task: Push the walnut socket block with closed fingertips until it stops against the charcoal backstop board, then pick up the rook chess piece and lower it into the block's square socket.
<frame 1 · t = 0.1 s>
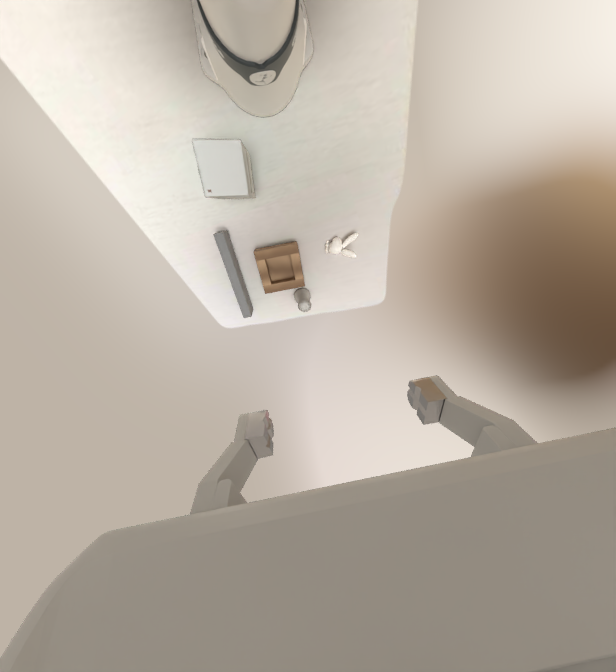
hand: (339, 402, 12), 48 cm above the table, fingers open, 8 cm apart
supplement box: (235, 177, 45), on the table
rook chess piece: (302, 295, 59), on the table
socket block: (280, 268, 53), point 2 cm above the table, slide at 0.0 cm
backstop board: (237, 274, 54), on the table
rabbit figurine: (341, 244, 54), on the table
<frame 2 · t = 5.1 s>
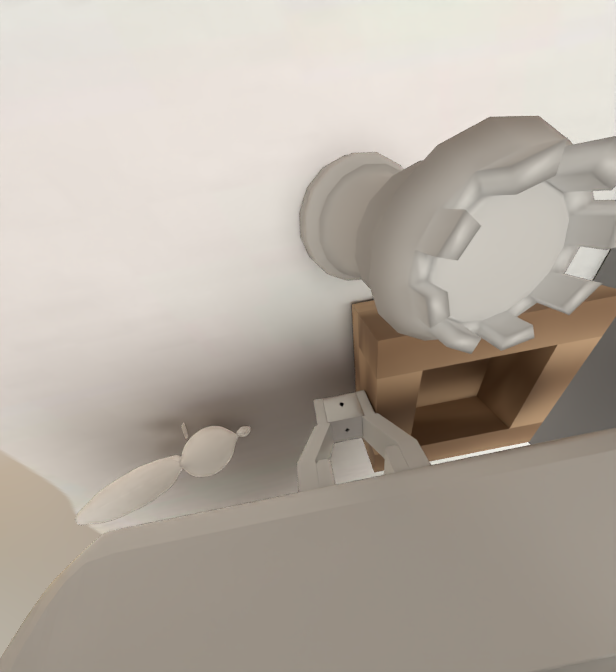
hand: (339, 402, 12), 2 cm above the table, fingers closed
rook chess piece: (348, 221, 10), on the table
socket block: (449, 379, 12), point 2 cm above the table, slide at 0.9 cm, touching gripper
backstop board: (578, 329, 14), on the table
rabbit figurine: (191, 424, 15), on the table
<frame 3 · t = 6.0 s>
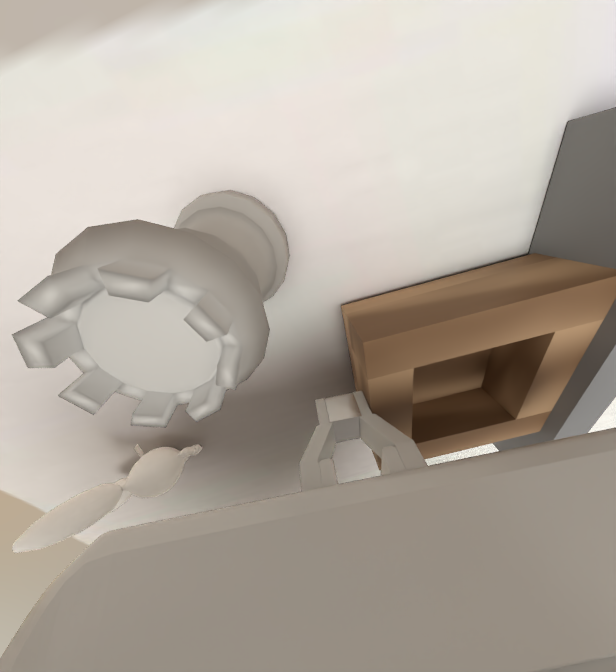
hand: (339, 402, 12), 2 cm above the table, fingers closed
rook chess piece: (239, 250, 10), on the table
socket block: (448, 373, 12), point 2 cm above the table, slide at 5.0 cm, touching backstop board, gripper
backstop board: (520, 328, 14), on the table
rabbit figurine: (147, 445, 16), on the table
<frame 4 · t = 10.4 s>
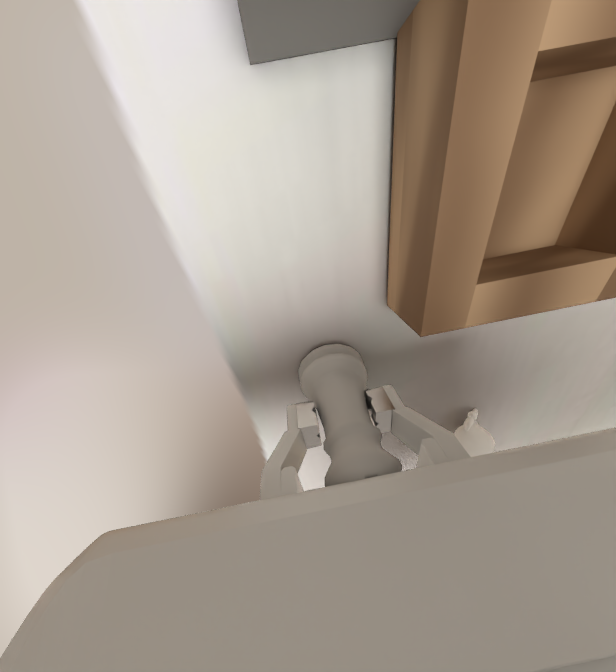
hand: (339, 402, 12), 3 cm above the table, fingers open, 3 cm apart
rook chess piece: (329, 365, 15), on the table, touching gripper
socket block: (535, 181, 8), point 2 cm above the table, slide at 5.0 cm, touching backstop board
rabbit figurine: (450, 433, 22), on the table
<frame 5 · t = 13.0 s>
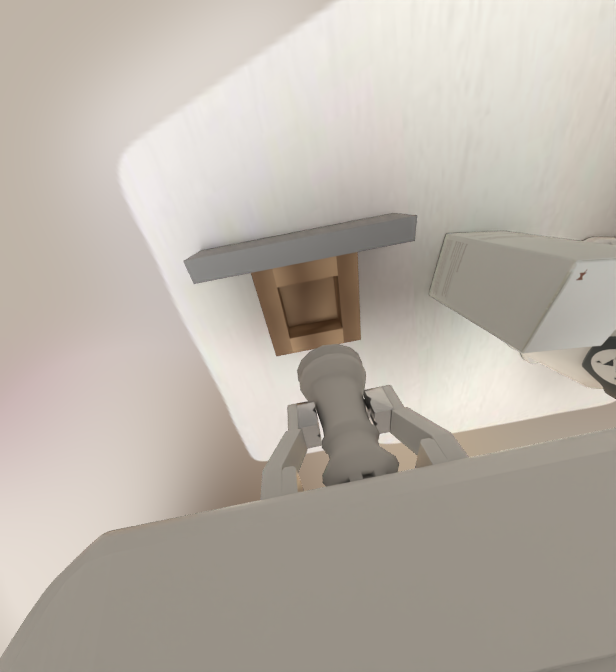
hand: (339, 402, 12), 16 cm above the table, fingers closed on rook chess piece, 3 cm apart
supplement box: (463, 264, 26), on the table
rook chess piece: (328, 365, 15), point 13 cm above the table, touching gripper
socket block: (310, 302, 24), point 2 cm above the table, slide at 5.0 cm, touching backstop board
backstop board: (298, 242, 22), on the table
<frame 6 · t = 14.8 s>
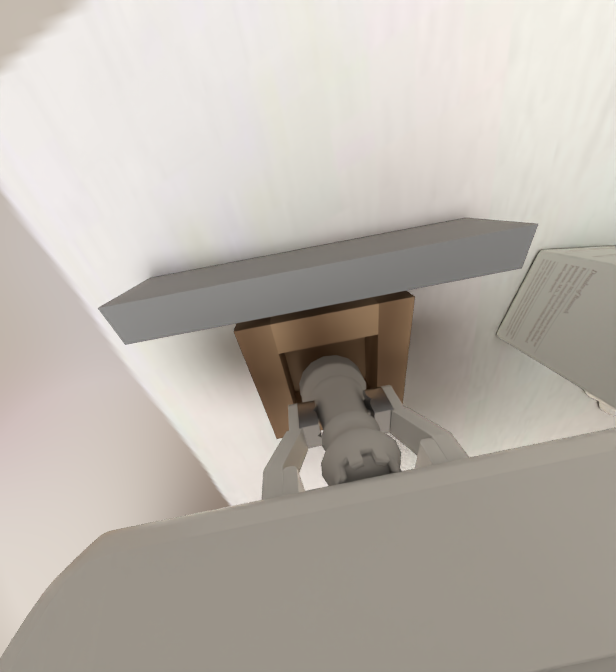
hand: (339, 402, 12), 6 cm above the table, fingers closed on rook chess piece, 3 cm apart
supplement box: (551, 293, 18), on the table
rook chess piece: (329, 380, 16), point 3 cm above the table, touching gripper
socket block: (328, 364, 16), point 2 cm above the table, slide at 4.2 cm
backstop board: (311, 263, 14), on the table
when the fingers open (6 cm above the table, at t = 14.9 s): rook chess piece drops 2 cm, resting on socket block.
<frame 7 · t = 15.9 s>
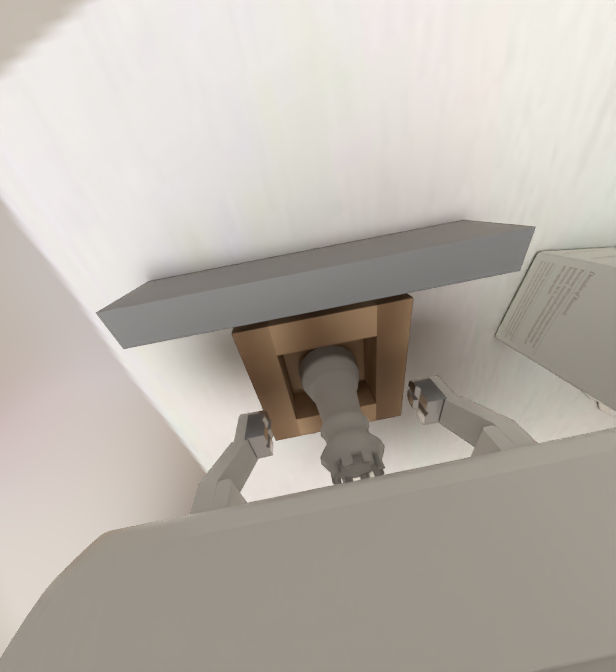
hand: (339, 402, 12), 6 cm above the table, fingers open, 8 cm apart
supplement box: (550, 295, 18), on the table
rook chess piece: (326, 363, 17), point 1 cm above the table, touching socket block
socket block: (327, 365, 16), point 2 cm above the table, slide at 4.3 cm, touching rook chess piece
backstop board: (309, 266, 14), on the table
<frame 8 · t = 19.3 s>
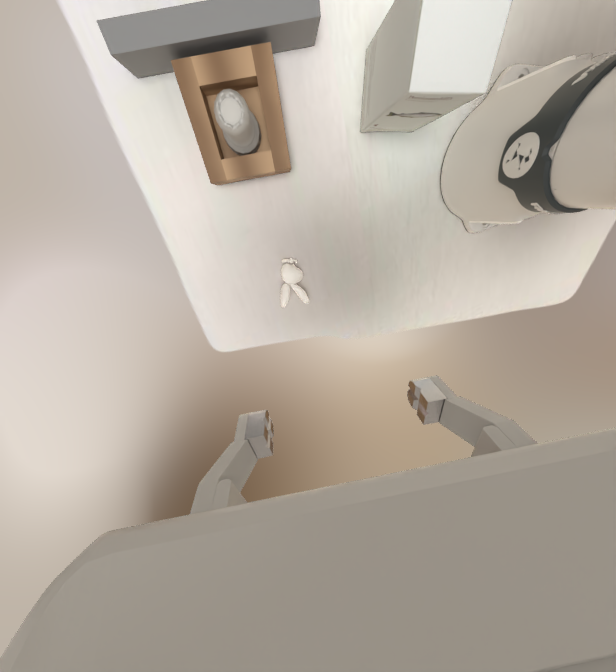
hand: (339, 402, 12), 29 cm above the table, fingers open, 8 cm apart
supplement box: (389, 95, 27), on the table
rook chess piece: (243, 134, 27), point 1 cm above the table, touching socket block
socket block: (240, 125, 25), point 2 cm above the table, slide at 4.3 cm, touching rook chess piece
backstop board: (223, 48, 24), on the table
rabbit figurine: (291, 281, 38), on the table
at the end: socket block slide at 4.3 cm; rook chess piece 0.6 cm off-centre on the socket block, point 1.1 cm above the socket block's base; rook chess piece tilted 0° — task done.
